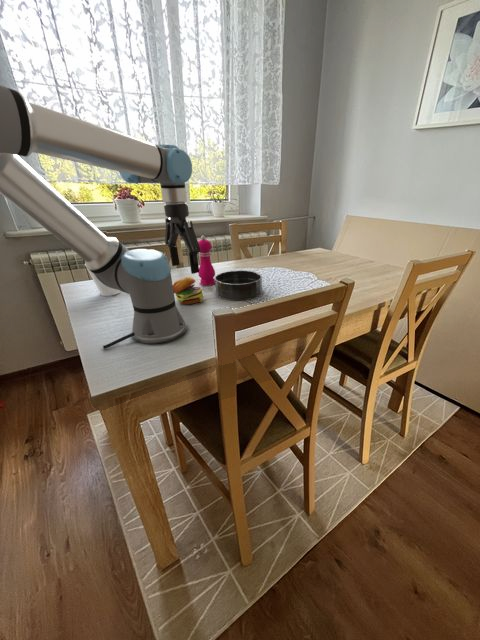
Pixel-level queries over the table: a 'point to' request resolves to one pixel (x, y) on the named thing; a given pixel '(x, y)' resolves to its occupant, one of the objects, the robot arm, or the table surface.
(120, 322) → the table surface
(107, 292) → the cup
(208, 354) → the table surface
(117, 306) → the table surface
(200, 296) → the cheeseburger
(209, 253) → the pepper mill
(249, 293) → the bowl
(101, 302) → the table surface
